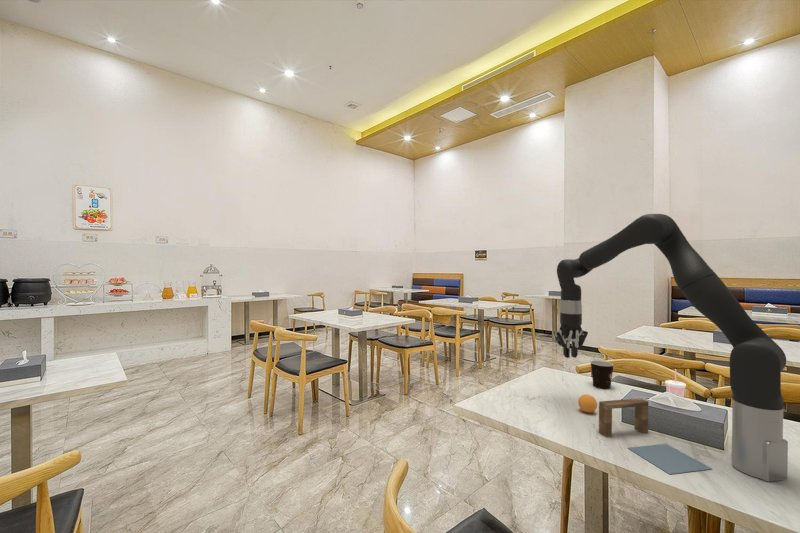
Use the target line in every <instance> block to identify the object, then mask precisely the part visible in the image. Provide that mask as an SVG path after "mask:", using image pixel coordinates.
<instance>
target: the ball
mask: <svg viewBox="0 0 800 533" xmlns="http://www.w3.org/2000/svg"><path fill="white" fill-rule="evenodd" d="M577 404H578V407H579V409H581V410H582V411H583V412H585V413H587V414H588V413H589V414H590V413H593V412H595V411H596V410H597V409H598V402H597V400H596V398H595V397H594V396H593V395H590V394H583V395H582V394H581V396H580V397H579V398H578V402H577Z"/></svg>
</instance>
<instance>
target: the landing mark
mask: <svg viewBox="0 0 800 533" xmlns="http://www.w3.org/2000/svg"><path fill="white" fill-rule="evenodd" d="M627 449H628V450H629V451H631V452H633V453H634V454H635V455H637V456H639V457H641V458H642V459H643V460H645V461H647V462H648V463H650V464H652V465H653V466H655V467H656V468H659V470H661V471H663V472H665V473H666V474H668V475H669V476H671V475H678V474H685V473H686V474H687V473H693V472H701V471H710V470H713V468H712V467H711V466H709V465H706V464H704V463H703V462H701V461H699V460H697V459H696V458H693V457H692V456H689V455H688V454H686V453H684V452H683V451H681V450H679V449H677V448H675V447H673V446H672V445H669V444H668V443H660V444H659V443H658V444H651V445H650V444H649V445H640V446H632V447H627Z"/></svg>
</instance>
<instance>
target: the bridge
mask: <svg viewBox="0 0 800 533" xmlns="http://www.w3.org/2000/svg"><path fill="white" fill-rule="evenodd" d="M625 408H634V430H635V431H638V432H639V433H641V434H649V401H648V400H645V399H644V398H643V399H642V398H640V397H639V398H630V399H629V398H628V399H627V398H626V399H625V398H624V399H615V400H602V401H601V400H600V401H598V433H599V434H600V435H602V436H604V437H605V438H608V437H609V438H611V437H612V436H613V435H612V434H613V409H625Z"/></svg>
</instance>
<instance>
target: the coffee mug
mask: <svg viewBox="0 0 800 533" xmlns="http://www.w3.org/2000/svg"><path fill="white" fill-rule="evenodd" d="M614 366H615V365H614V364H613V363H611V362H608V361H603V360H591V361H590V368H591V369H590V370H591V377H592V384H593V387H594V388H596V389H599V390H610V389H611V387H612V379H613V372H614Z"/></svg>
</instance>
